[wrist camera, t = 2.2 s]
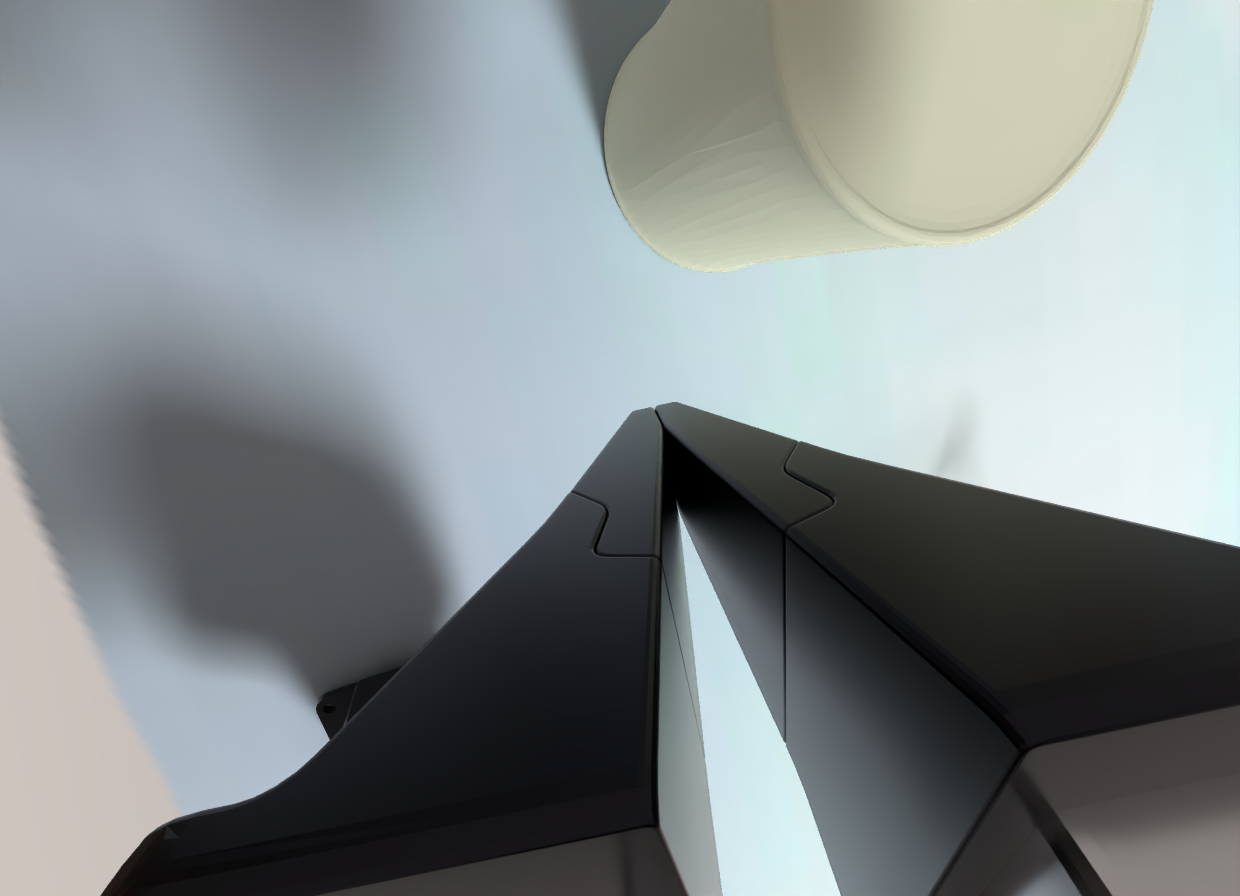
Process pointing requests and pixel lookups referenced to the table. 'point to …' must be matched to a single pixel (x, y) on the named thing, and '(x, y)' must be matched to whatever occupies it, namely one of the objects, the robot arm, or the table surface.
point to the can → (858, 121)
